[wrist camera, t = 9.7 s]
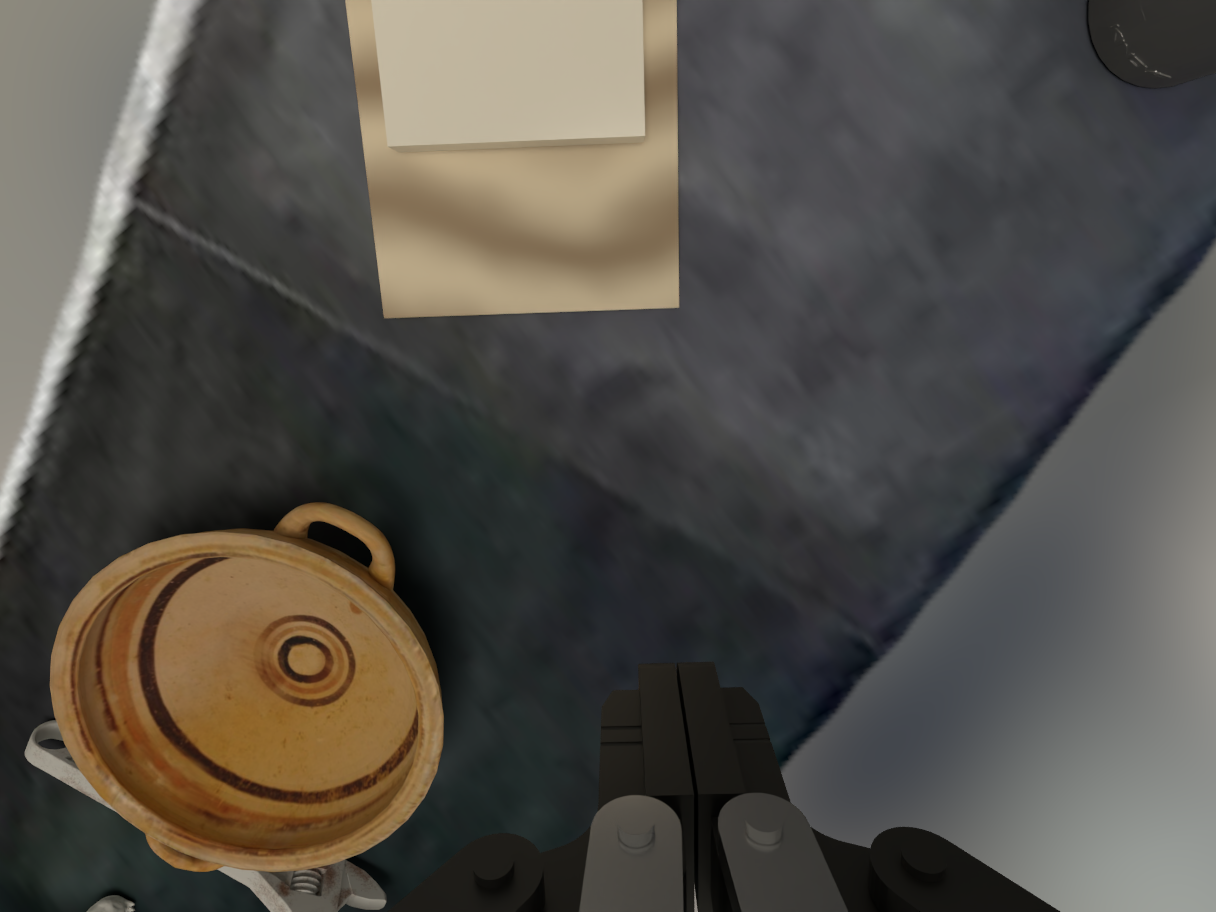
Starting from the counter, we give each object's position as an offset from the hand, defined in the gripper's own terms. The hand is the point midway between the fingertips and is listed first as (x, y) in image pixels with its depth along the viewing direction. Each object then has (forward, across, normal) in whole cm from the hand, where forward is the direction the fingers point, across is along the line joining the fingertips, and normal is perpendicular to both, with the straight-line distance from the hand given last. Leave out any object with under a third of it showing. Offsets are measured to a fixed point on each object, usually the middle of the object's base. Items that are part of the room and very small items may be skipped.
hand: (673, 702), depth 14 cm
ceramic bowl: (+32, +24, +18) cm, 44 cm away
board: (+32, +6, -18) cm, 37 cm away
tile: (+29, +6, -15) cm, 34 cm away
